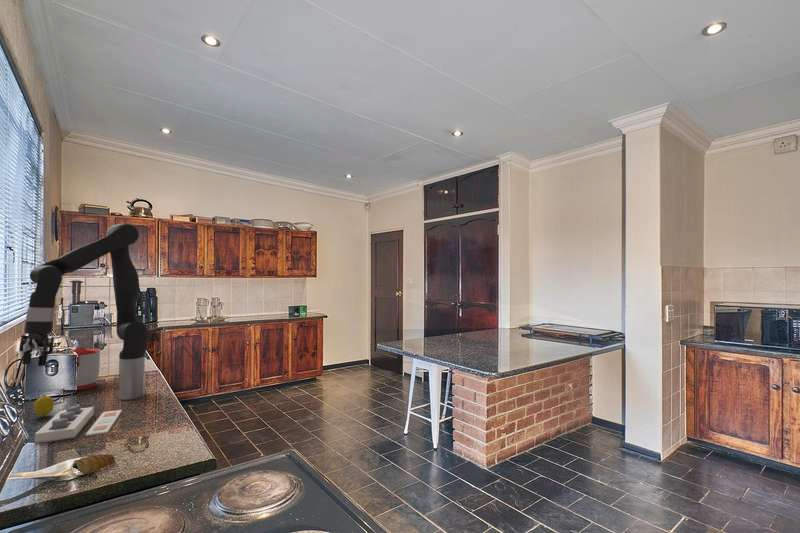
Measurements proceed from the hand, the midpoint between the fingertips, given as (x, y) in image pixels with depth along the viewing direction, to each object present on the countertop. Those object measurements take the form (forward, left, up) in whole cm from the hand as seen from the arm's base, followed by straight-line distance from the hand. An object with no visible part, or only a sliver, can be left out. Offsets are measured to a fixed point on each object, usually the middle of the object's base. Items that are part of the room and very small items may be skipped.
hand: (33, 365), depth 143 cm
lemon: (-1, -6, -21) cm, 22 cm away
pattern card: (-24, +11, -21) cm, 33 cm away
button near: (-13, +18, -19) cm, 29 cm away
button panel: (-13, +11, -21) cm, 27 cm away
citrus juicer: (-2, -45, -21) cm, 50 cm away
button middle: (-13, +11, -19) cm, 25 cm away
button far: (-13, +4, -19) cm, 23 cm away
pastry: (-28, +49, -21) cm, 61 cm away
